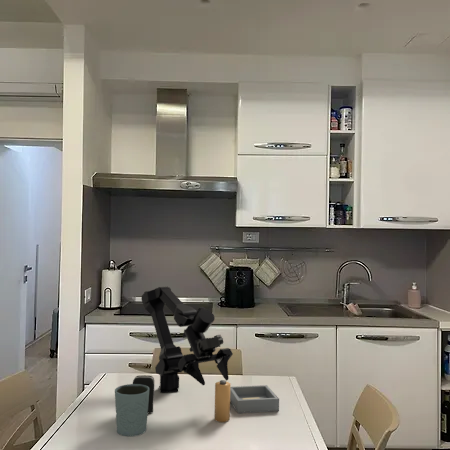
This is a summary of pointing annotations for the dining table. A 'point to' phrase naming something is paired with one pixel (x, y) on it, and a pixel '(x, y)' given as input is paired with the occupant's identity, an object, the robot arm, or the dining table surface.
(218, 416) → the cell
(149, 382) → the battery charger
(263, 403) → the gray square tray
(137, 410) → the green cup
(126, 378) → the dining table surface
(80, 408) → the dining table surface
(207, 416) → the dining table surface
